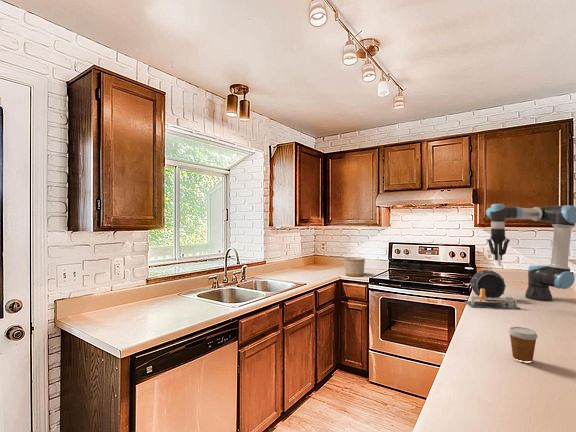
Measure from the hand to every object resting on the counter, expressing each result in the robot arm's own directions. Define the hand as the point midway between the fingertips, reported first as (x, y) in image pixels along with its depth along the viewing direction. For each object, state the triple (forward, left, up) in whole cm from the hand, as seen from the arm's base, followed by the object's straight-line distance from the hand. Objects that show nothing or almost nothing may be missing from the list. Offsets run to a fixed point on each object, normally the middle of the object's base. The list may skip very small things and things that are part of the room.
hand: (498, 265), depth 211 cm
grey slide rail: (+4, +1, -26) cm, 26 cm away
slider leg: (+10, +1, -25) cm, 27 cm away
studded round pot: (-1, -18, -26) cm, 32 cm away
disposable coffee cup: (+28, +84, -26) cm, 92 cm away
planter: (+85, -96, -26) cm, 131 cm away
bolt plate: (+4, -1, -26) cm, 26 cm away
